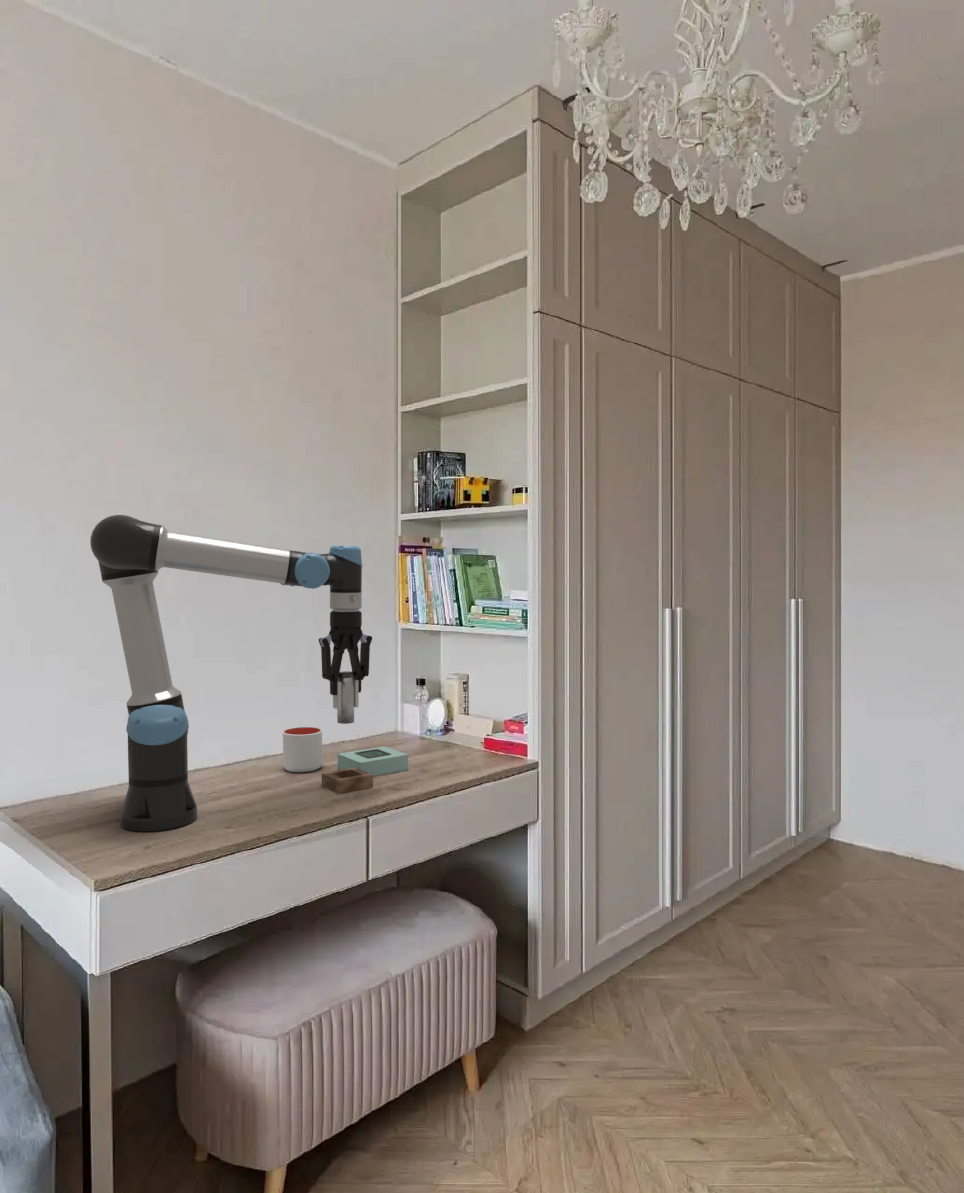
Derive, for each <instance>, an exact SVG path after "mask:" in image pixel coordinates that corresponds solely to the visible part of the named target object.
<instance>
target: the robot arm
mask: <svg viewBox="0 0 964 1193" xmlns="http://www.w3.org/2000/svg"><path fill="white" fill-rule="evenodd" d="M89 541H90V544H89V545H90V550H91V552H92V553H93V556H94V557H95V559H96V560H97V561H98V562H97V563H98V567H99V571H100V576H101V582H102V583H103V584H105V585H106V586H108V587H109V588H110V590H111V594H112V598H113V604H114V607H115V614H116V618H117V624H118V629H119V635H120V639H121V643H122V649H123V654H124V655H123V656H124V658H125V659H124V660H125V663H126V664H125V665H126V669H127V670H126V671H127V674H128V679H129V685H130V691H131V696H130V697H129V699H127V702H126V709H127V714H128V717H127V724H126V733H127V759H128V760H127V763H128V765H127V766H128V768H127V769H128V770H127V771H128V772H127V773H128V774H127V775H128V788H127V791H126V794H125V798H124V801H123V804H122V808H121V811H120V813H119V820H120V827H121V828H122V829H124V830H129V831H132V832H159V831H167V830H171V829H172V830H173V829H176V828H181V827H183V826H186V825H189V824H190V823H193V822H195V821H196V819H197V818H198V806H197V803H196V800H195V797H194V795H193V794H194V793H193V792H192V789H191V786H190V784H189V783H190V782H189V774H188V773H189V771H188V770H189V769H188V768H189V767H188V766H189V765H188V734H189V728H190V727H189V726H190V725H189V719H188V715H187V713H186V711H185V706H184V705H185V704H184V701H183V695H182V692H181V690H179V689H178V688H176V687H175V686H173V681H172V676H171V670H170V665H169V660H168V654H167V649H166V644H165V640H164V635H163V634H164V632H163V629H162V623H161V619H160V613H159V608H158V604H157V598H156V593H155V592H156V591H155V587H154V580H155V579H156V577H157V576H158V574H159V570H161V569H162V568H169V569H176V570H181V571H190V572H197V573H202V574H203V573H204V574H210V575H217V576H219V575H220V576H224V577H225V576H226V577H231V578H232V577H234V578H239V579H240V578H241V579H248V580H255V581H262V582H269V583H275V584H280V585H282V586H289V587H290V586H291V587H295V586H296V587H303V588H306V589H318V588H319V587H321V586H329V608H330V609H331V611H330V612H329V626H330V630H329V632H328V635H327V636H325V637H319V639H318V642H319V643H318V644H319V647H320V649H321V650H320V651H321V658H320V659H321V677H322V679H324V680H327V681H329V694H330V695H331V696H332V708H333V709H336V710H337V709H341V682H340V681H338V678H339V673H340V672H341V667H342V661H343V657H344V656H343V655H344V654H345V650H347V652H348V656H349V661H350V666H351V672H354V708H359V693H361V692H362V681H363V680H364V679H365V677H369V674H370V652H371V648H370V647H371V645H372V644H371V643H372V641H373V636H371V635H367V634H364V633H363V630H362V626H363V622H362V620H363V616H362V614H363V612H362V611H360V610H361V609H362V604H363V603H362V597H363V595H362V592H363V591H362V586H363V585H362V584H363V583H362V582H363V580H362V578H363V577H362V573H363V560H362V550H361V548H360V547H359V546H356V545H332V546H331V545H330V548H329V552H328V553H316V552H315V553H314V552H305V551H297V550H292V549H291V550H290V549H285V548H280V547H272V546H266V545H259V544H252V543H248V542H241V541H232V540H229V539H228V540H227V539H221V538H213V537H209V536H207V537H206V536H201V535H196V534H189V533H188V534H187V533H181V532H176V531H171V530H170V531H169V530H168V529H167V528H166V527H165V526H164V525H163V524H162V525H161V524H155V523H152V522H151V523H150V522H147V521H142V520H140V519H138V518H135V517H132V516H129V515H126V514H115V515H110V516H108V517H105V518H103V519H102V520H100V521H98V523H97V524H96V525H95V527H94V528H93V530H92V532H91V535H90V540H89ZM359 642H360V649H359V645H358V643H359ZM332 644H333V649H332V651H331V645H332ZM331 652H333V654H331ZM359 652H360V653H359ZM331 655H332V656H331Z"/></svg>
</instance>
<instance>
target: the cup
mask: <svg viewBox="0 0 964 1193" xmlns="http://www.w3.org/2000/svg"><path fill="white" fill-rule="evenodd" d="M282 754H283V755H282V764H283V768H284V769H285V770H286V771H288V772H290V773H310V772H313V771H314V772H315V771H318V769H320V768H321V767H322V765H323V729H321V728H319V727H313V726H312V727H311V726H301V727H300V726H299V727H292V728H291V727H290V728H287V729H285V730H283V731H282Z"/></svg>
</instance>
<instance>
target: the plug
mask: <svg viewBox="0 0 964 1193" xmlns="http://www.w3.org/2000/svg"><path fill="white" fill-rule="evenodd" d="M338 681H340V682H341V709H336V710H337V712H336V713H337V714H336V715H337V718H336V720H337V723H338V724H342V725H348V724H354V723H355V707H354V672H352V671H349V670H348V671H346V670H345V671H340V673H339V678H338Z"/></svg>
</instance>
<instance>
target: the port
mask: <svg viewBox="0 0 964 1193" xmlns="http://www.w3.org/2000/svg"><path fill="white" fill-rule="evenodd" d="M353 767H355V768H357V769H360V770H362V771H365V772H367V773H370V774H372V775H373V777H377V776H382V775H388V774H392V773H398V772H403V771H409V754H408V753H405V752H402V751H398V750H395V749H393V748H390V747H387V746H377V747H373V748H372V747H371V748H365V749H359V750H354V751H352V750H351V751H346V752H341V753H337V770H342V769H348V768H353Z"/></svg>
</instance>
